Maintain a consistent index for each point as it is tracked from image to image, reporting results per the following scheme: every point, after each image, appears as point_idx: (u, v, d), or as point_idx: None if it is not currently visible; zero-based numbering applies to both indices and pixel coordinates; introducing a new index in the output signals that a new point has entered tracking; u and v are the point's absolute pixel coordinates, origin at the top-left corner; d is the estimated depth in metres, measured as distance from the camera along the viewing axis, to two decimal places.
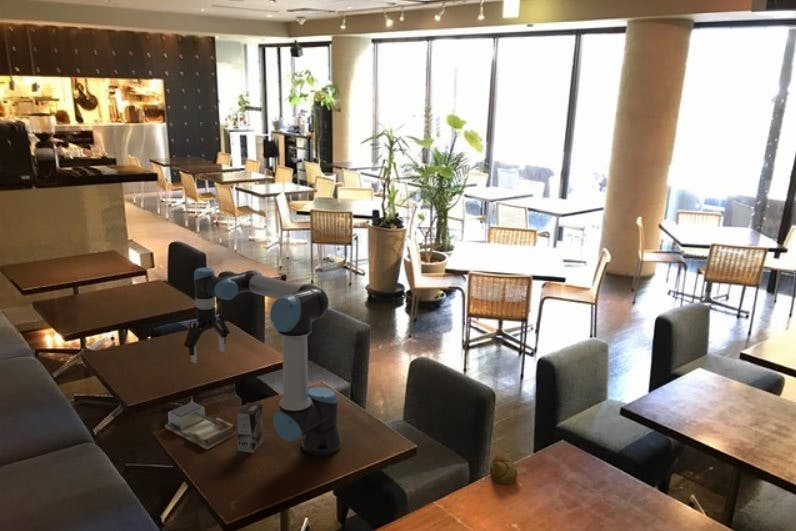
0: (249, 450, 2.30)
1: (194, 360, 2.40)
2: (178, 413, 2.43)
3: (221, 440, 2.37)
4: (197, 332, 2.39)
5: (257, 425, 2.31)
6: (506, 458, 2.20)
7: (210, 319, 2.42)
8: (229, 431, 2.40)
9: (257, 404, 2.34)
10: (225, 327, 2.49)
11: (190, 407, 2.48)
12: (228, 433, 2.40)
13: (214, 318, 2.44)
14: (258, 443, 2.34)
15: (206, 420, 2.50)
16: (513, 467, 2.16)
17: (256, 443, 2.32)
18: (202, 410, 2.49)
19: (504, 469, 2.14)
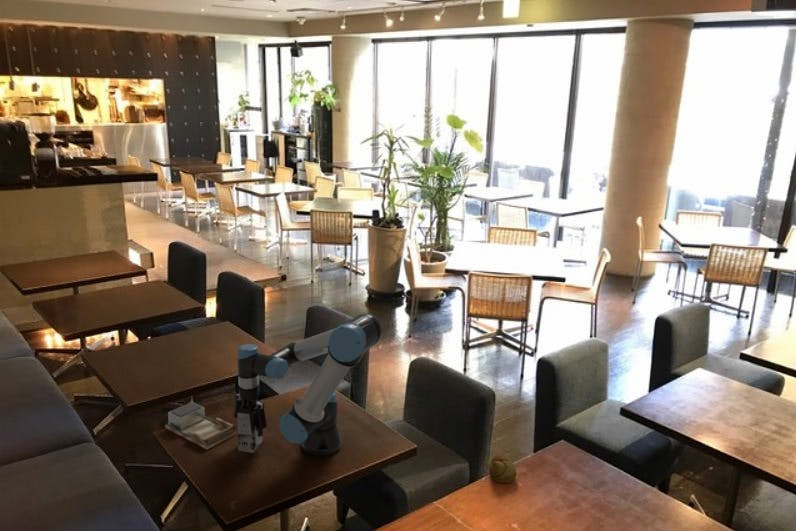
0: (249, 450, 2.30)
1: None
2: (178, 413, 2.43)
3: (221, 440, 2.37)
4: None
5: None
6: (505, 457, 2.21)
7: (249, 398, 2.28)
8: (229, 431, 2.40)
9: None
10: (259, 420, 2.27)
11: (190, 407, 2.48)
12: (228, 433, 2.40)
13: (252, 401, 2.27)
14: None
15: (206, 420, 2.50)
16: (512, 466, 2.17)
17: None
18: (202, 410, 2.49)
19: (502, 468, 2.15)
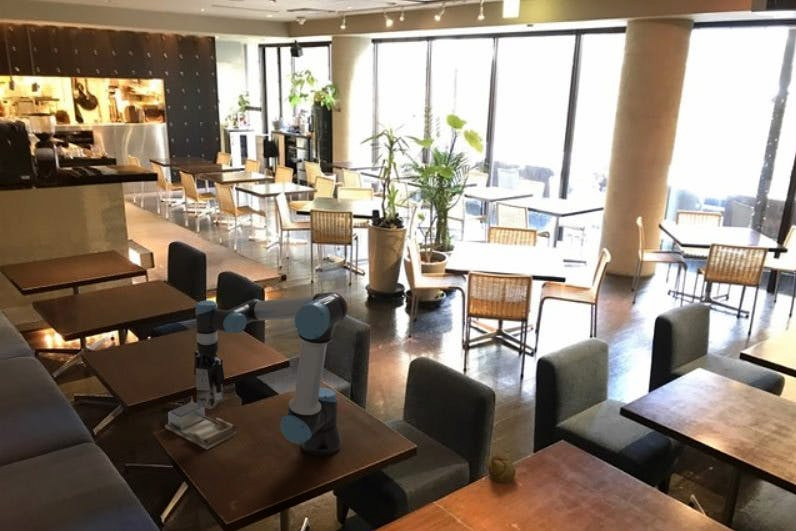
0: (208, 406, 2.32)
1: None
2: (178, 413, 2.43)
3: (221, 440, 2.37)
4: None
5: None
6: (505, 457, 2.21)
7: (207, 354, 2.30)
8: (229, 431, 2.40)
9: None
10: (217, 376, 2.28)
11: (190, 407, 2.48)
12: (228, 433, 2.40)
13: (211, 357, 2.29)
14: None
15: (206, 420, 2.50)
16: (511, 466, 2.17)
17: None
18: (202, 410, 2.49)
19: (501, 467, 2.15)
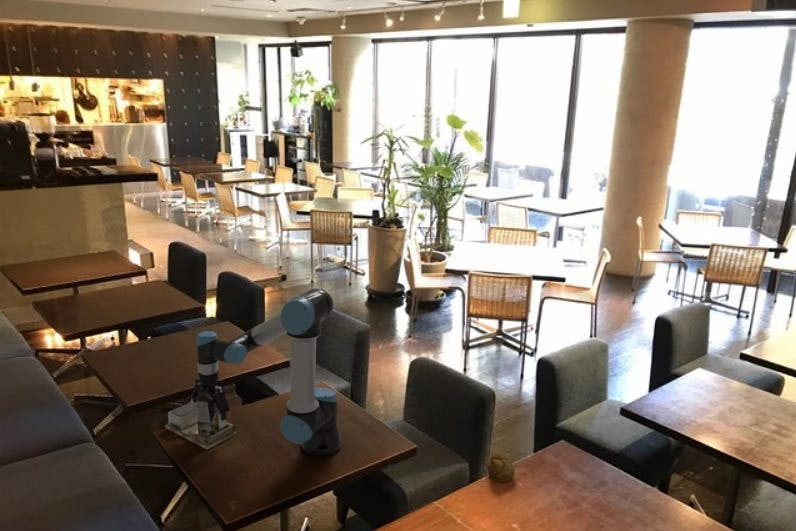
0: None
1: None
2: (178, 413, 2.43)
3: (221, 440, 2.37)
4: None
5: (217, 413, 2.36)
6: (504, 456, 2.21)
7: (208, 385, 2.33)
8: (229, 431, 2.40)
9: None
10: (221, 404, 2.30)
11: (190, 407, 2.48)
12: (228, 433, 2.40)
13: (211, 387, 2.32)
14: (218, 431, 2.39)
15: None
16: (510, 465, 2.17)
17: (216, 431, 2.37)
18: None
19: (500, 467, 2.15)
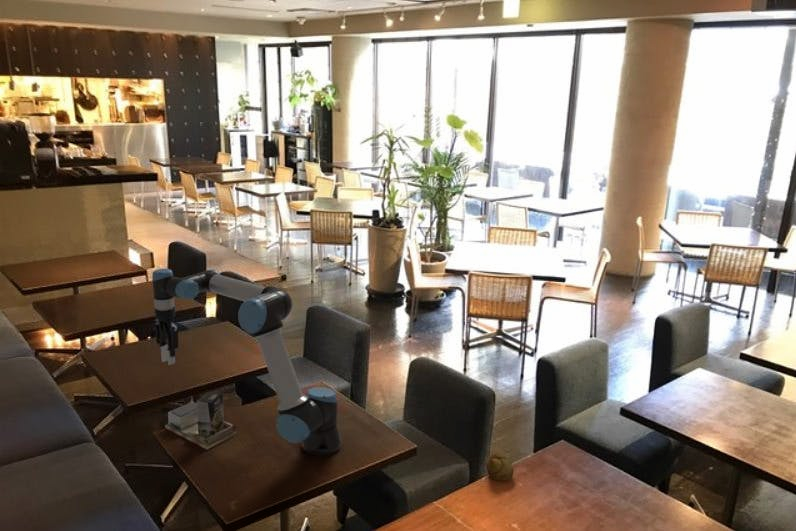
0: None
1: None
2: (178, 413, 2.43)
3: (221, 440, 2.37)
4: None
5: (217, 413, 2.36)
6: (503, 455, 2.22)
7: (165, 319, 2.41)
8: (229, 431, 2.40)
9: (218, 393, 2.39)
10: (172, 341, 2.42)
11: (190, 407, 2.48)
12: (228, 433, 2.40)
13: (168, 323, 2.41)
14: (218, 431, 2.39)
15: None
16: (509, 465, 2.18)
17: (216, 431, 2.37)
18: None
19: (499, 466, 2.16)
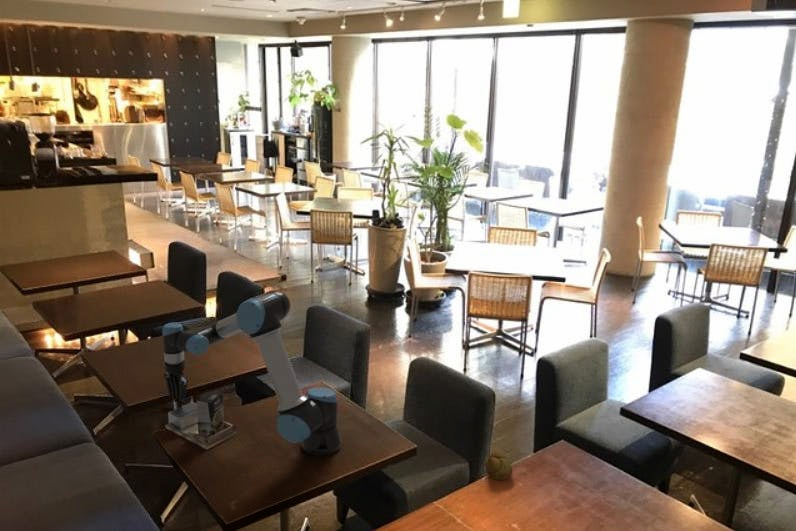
0: None
1: None
2: (178, 413, 2.43)
3: (221, 440, 2.37)
4: None
5: (217, 413, 2.36)
6: (503, 455, 2.22)
7: None
8: (229, 431, 2.40)
9: (218, 393, 2.39)
10: (179, 393, 2.45)
11: (190, 407, 2.48)
12: (228, 433, 2.40)
13: (178, 376, 2.44)
14: (218, 431, 2.39)
15: None
16: (508, 464, 2.18)
17: (216, 431, 2.37)
18: None
19: (497, 465, 2.16)
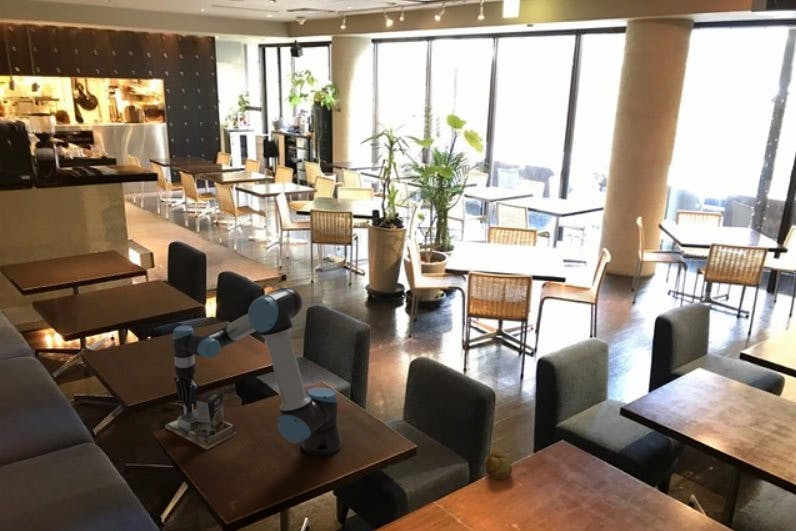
0: None
1: None
2: (188, 418, 2.40)
3: (221, 440, 2.37)
4: None
5: (217, 413, 2.36)
6: (502, 454, 2.23)
7: None
8: (229, 431, 2.40)
9: (218, 393, 2.39)
10: (190, 397, 2.42)
11: None
12: (228, 433, 2.40)
13: (188, 380, 2.40)
14: (218, 431, 2.39)
15: None
16: (507, 463, 2.18)
17: (216, 431, 2.37)
18: None
19: (497, 464, 2.17)
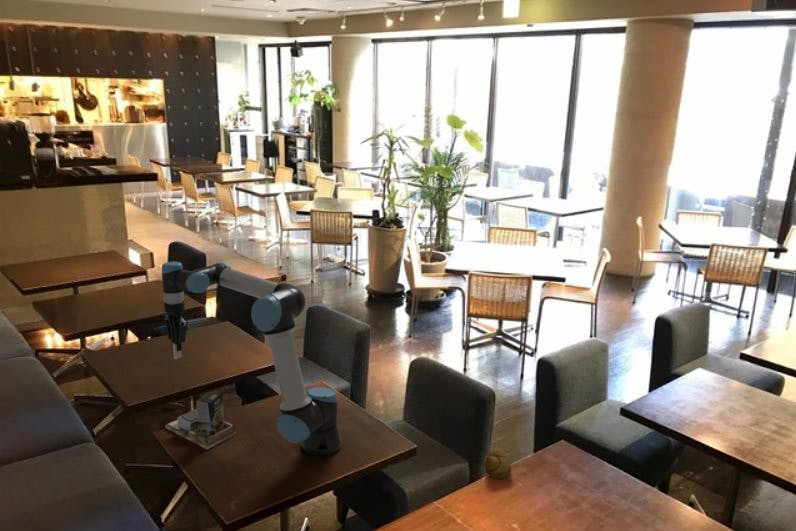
0: None
1: None
2: (188, 418, 2.40)
3: (221, 440, 2.37)
4: None
5: (217, 413, 2.36)
6: (502, 454, 2.23)
7: (175, 313, 2.37)
8: (229, 431, 2.40)
9: (218, 393, 2.39)
10: (179, 335, 2.38)
11: None
12: (228, 433, 2.40)
13: (177, 317, 2.36)
14: (218, 431, 2.39)
15: None
16: (506, 463, 2.19)
17: (216, 431, 2.37)
18: None
19: (496, 463, 2.17)
